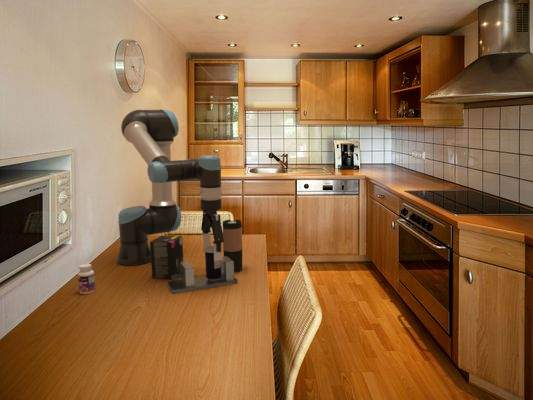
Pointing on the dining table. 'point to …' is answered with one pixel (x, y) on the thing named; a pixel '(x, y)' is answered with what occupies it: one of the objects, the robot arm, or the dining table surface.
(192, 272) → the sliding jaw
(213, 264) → the beverage can
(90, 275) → the pill bottle
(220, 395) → the dining table surface
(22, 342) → the dining table surface
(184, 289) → the vise base
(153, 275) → the tampon box
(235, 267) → the travel mug
